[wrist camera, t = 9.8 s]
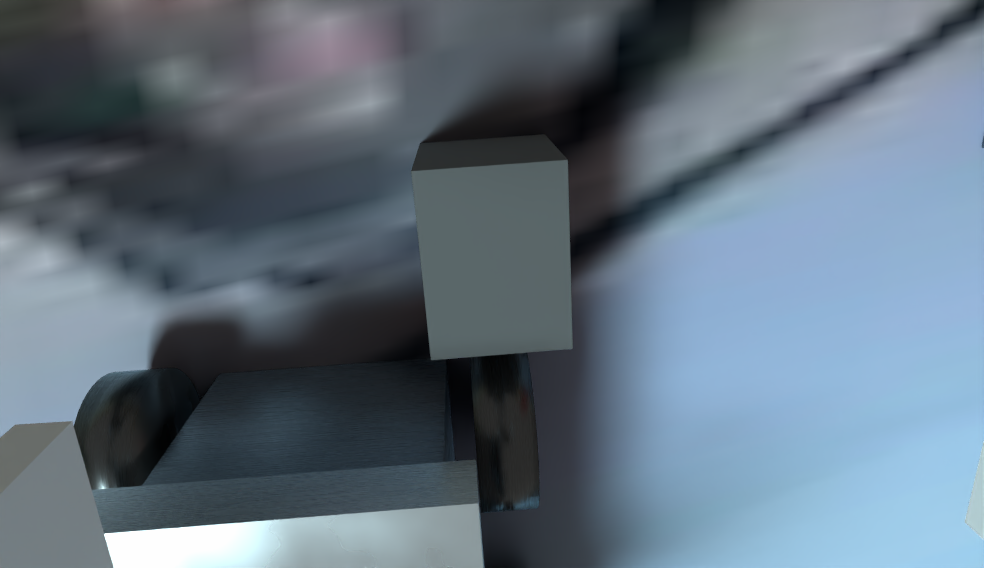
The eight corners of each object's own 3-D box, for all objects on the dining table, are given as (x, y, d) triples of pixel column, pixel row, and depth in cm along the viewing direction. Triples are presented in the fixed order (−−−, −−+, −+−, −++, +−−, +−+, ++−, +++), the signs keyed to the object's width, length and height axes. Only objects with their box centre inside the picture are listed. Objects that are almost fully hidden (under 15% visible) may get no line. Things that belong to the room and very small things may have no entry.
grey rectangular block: (420, 142, 25) (411, 171, 20) (544, 134, 25) (567, 160, 20) (435, 297, 27) (430, 360, 22) (550, 288, 27) (572, 348, 22)
